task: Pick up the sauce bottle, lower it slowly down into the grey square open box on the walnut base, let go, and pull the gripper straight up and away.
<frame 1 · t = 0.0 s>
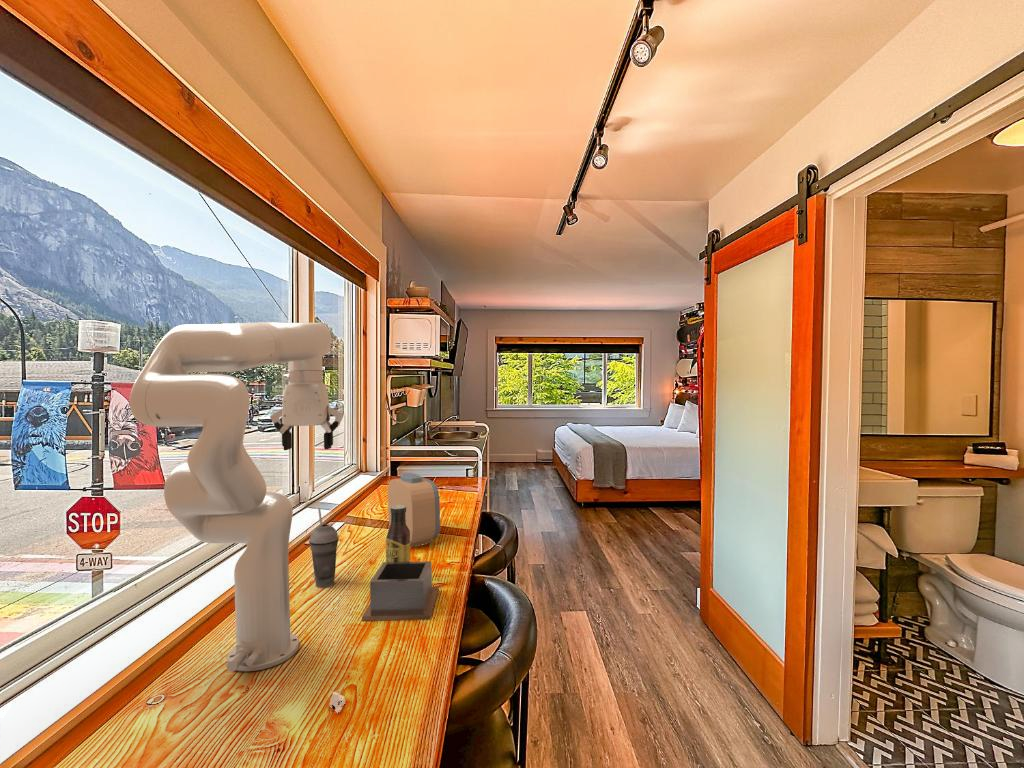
hand: (307, 449, 122), 37 cm above the worktop, tool pointing down, fingers open, 9 cm apart
beverage cup: (325, 585, 132), on the worktop
sauce bottle: (398, 581, 133), on the worktop
grey square open box: (402, 604, 119), on the worktop
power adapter: (345, 708, 83), on the worktop
alarm clock: (414, 541, 166), on the worktop
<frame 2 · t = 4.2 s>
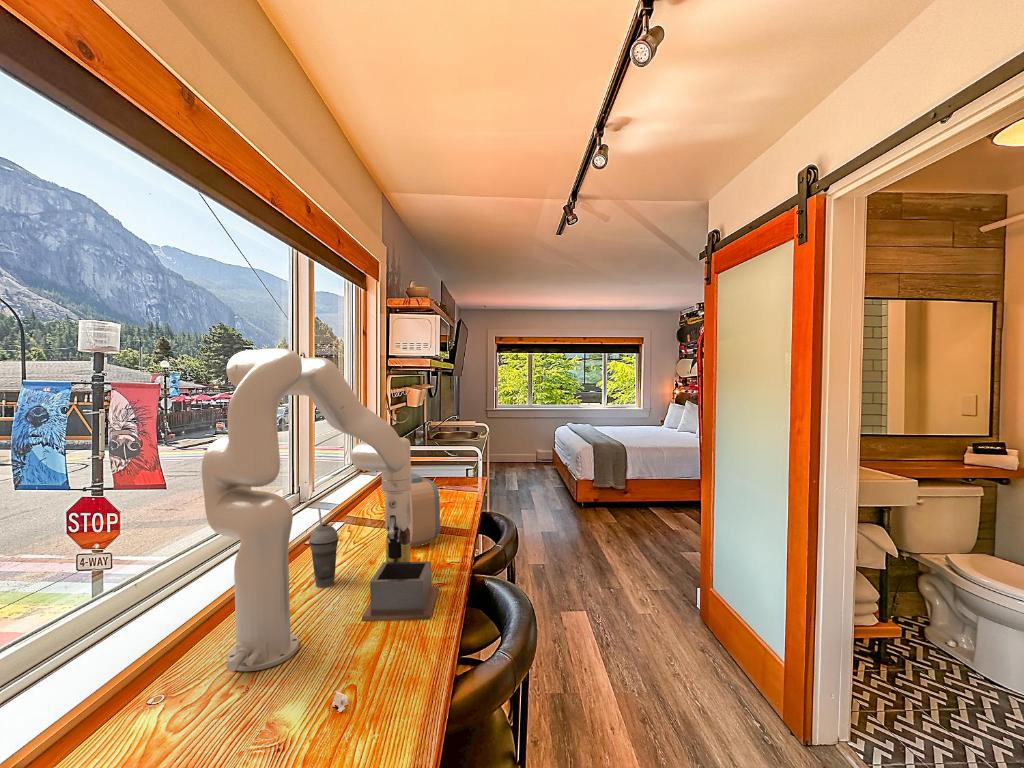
hand: (398, 552, 133), 8 cm above the worktop, tool pointing down, fingers closed on sauce bottle, 6 cm apart
sauce bottle: (398, 581, 133), on the worktop, touching gripper
everything else where it was.
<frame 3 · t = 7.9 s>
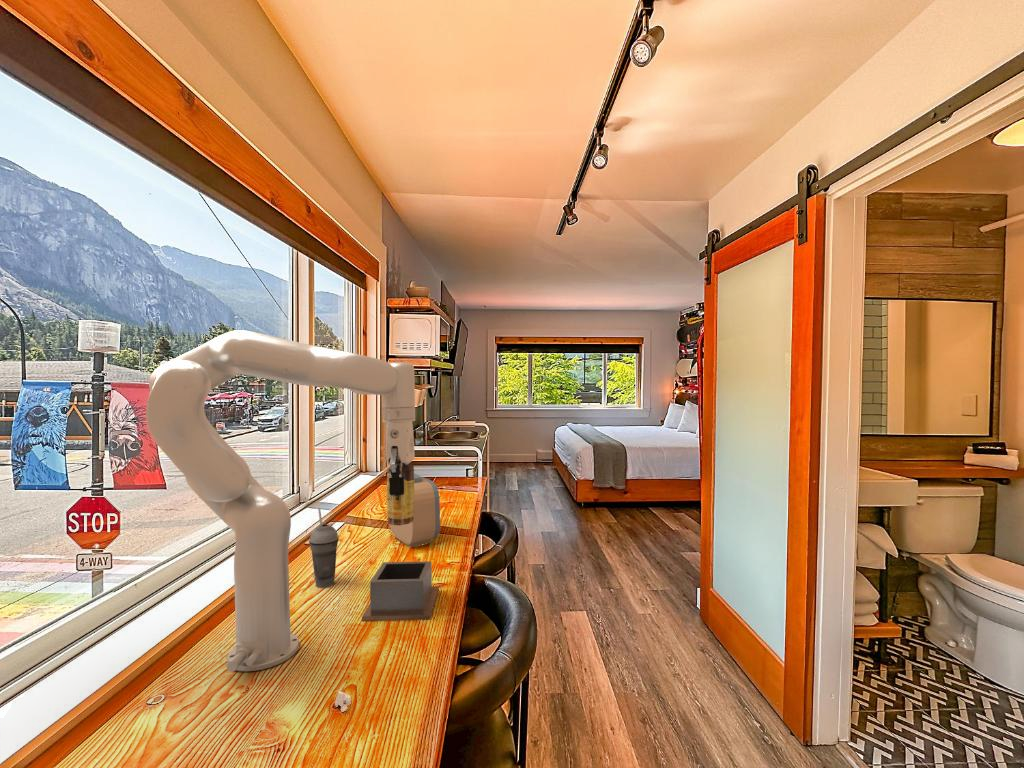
hand: (400, 490, 118), 27 cm above the worktop, tool pointing down, fingers closed on sauce bottle, 6 cm apart
sauce bottle: (401, 523, 119), point 19 cm above the worktop, touching gripper
everything else where it was.
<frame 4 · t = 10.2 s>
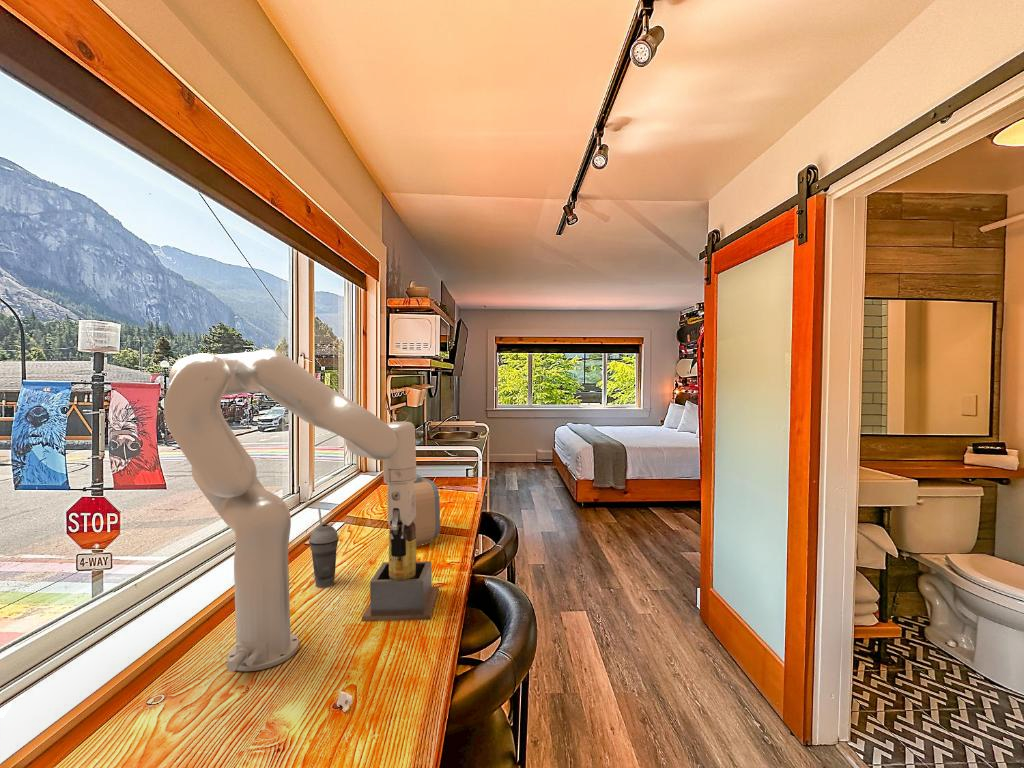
hand: (402, 549, 119), 13 cm above the worktop, tool pointing down, fingers closed on sauce bottle, 6 cm apart
sauce bottle: (403, 582, 119), point 5 cm above the worktop, touching gripper
when the fingers open (10 cm above the worktop, at t = 11.9 s): sauce bottle drops 1 cm, resting on grey square open box.
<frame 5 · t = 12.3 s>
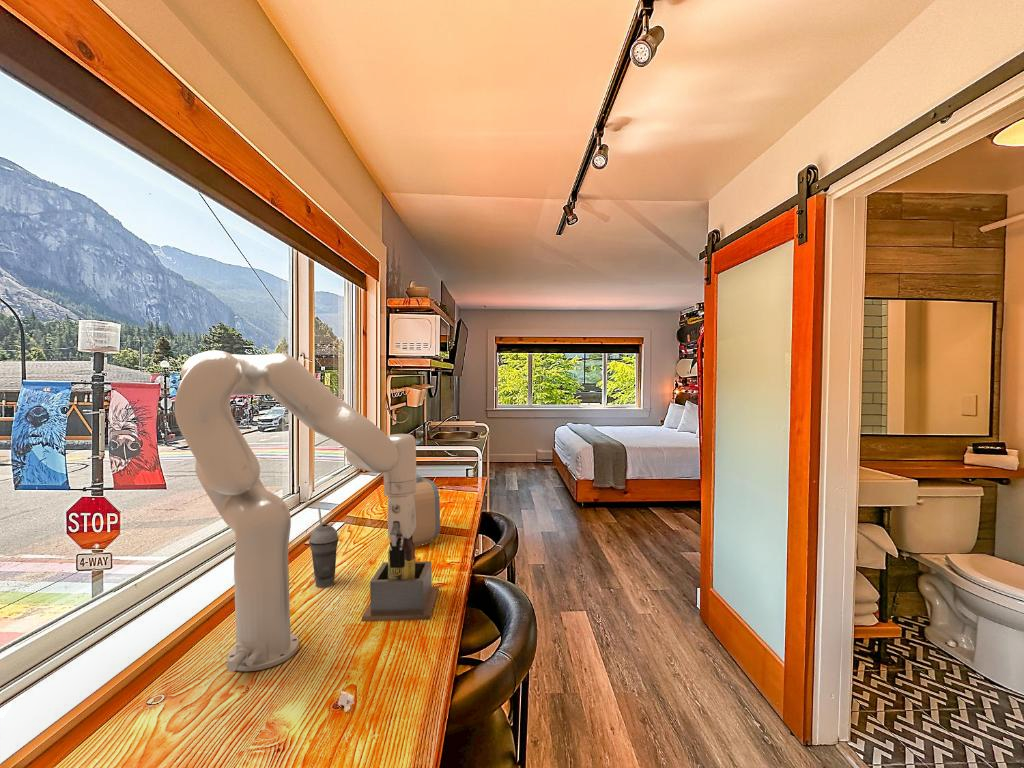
hand: (401, 559, 119), 11 cm above the worktop, tool pointing down, fingers open, 9 cm apart
sauce bottle: (402, 601, 119), point 1 cm above the worktop, touching grey square open box
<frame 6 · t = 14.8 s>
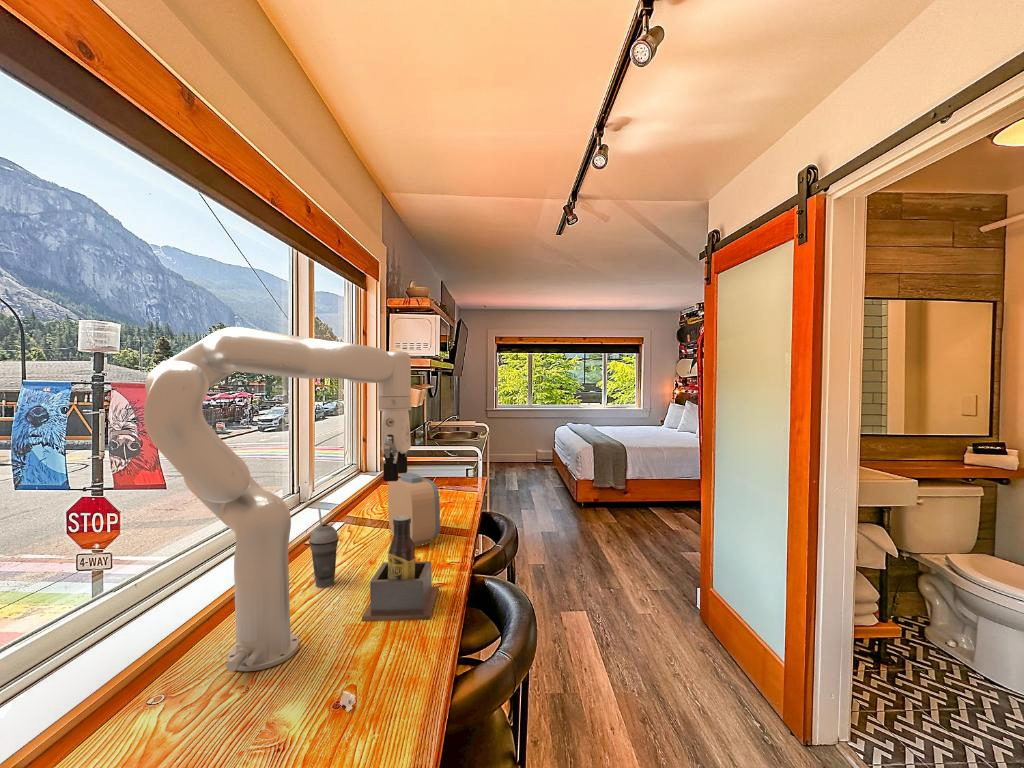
hand: (395, 476, 118), 30 cm above the worktop, tool pointing down, fingers open, 9 cm apart
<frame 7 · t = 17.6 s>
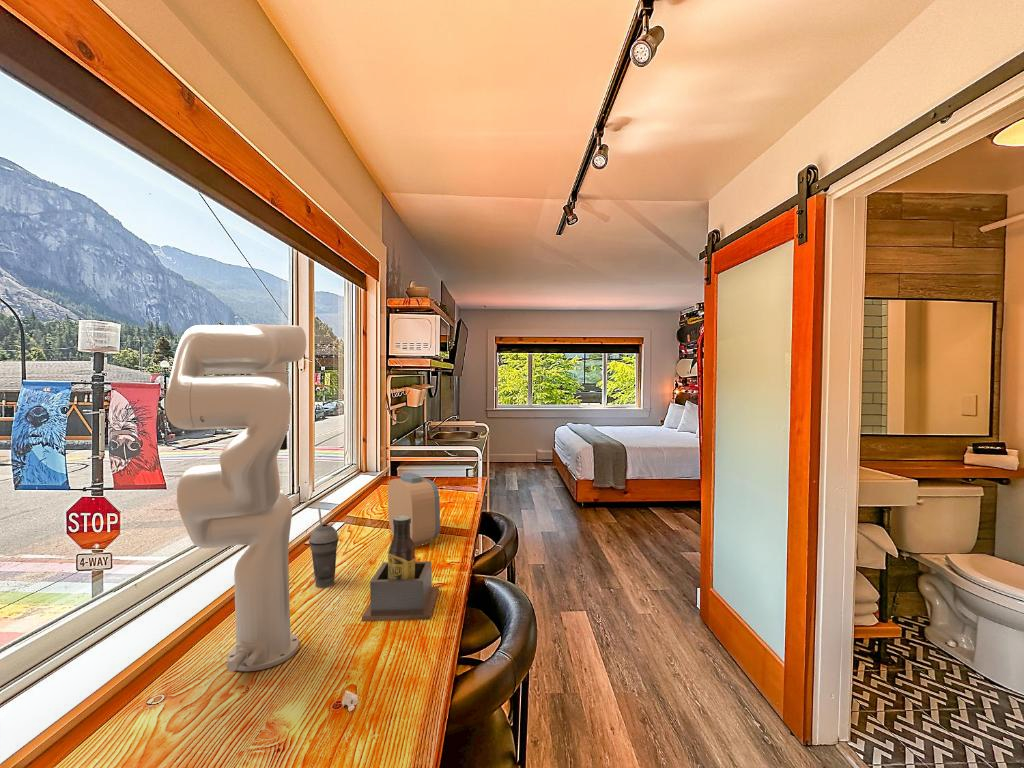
hand: (271, 452, 120), 36 cm above the worktop, tool pointing down, fingers open, 9 cm apart
at the end: sauce bottle 0.2 cm off-centre on the grey square open box, point 0.8 cm above the grey square open box's base; sauce bottle tilted 0°; the gripper is holding nothing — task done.
